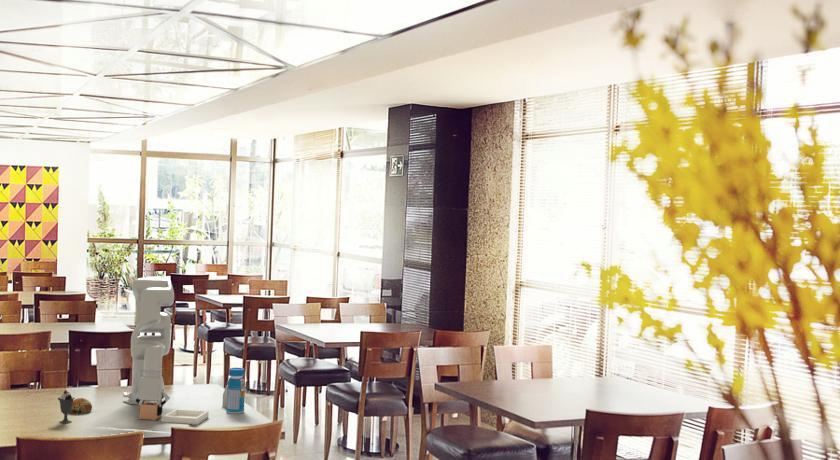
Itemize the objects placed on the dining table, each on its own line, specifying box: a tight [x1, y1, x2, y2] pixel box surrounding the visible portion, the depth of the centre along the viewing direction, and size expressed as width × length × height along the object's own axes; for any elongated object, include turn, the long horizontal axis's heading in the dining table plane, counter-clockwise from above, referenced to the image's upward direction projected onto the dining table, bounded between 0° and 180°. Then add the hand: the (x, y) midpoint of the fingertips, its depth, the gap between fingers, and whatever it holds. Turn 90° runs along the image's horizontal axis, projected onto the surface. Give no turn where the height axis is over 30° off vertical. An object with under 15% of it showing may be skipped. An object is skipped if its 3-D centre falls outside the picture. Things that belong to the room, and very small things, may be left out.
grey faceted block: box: [221, 385, 228, 409], centre depth 385 cm, size 4×7×10 cm, turn 62°
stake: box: [134, 402, 163, 422], centre depth 354 cm, size 10×10×7 cm
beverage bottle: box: [225, 367, 246, 415], centre depth 376 cm, size 8×8×20 cm
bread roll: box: [68, 397, 93, 415], centre depth 363 cm, size 10×10×8 cm
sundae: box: [57, 385, 76, 425], centre depth 343 cm, size 7×7×15 cm
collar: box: [138, 401, 163, 420], centre depth 355 cm, size 7×7×6 cm
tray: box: [161, 408, 209, 427], centre depth 355 cm, size 15×15×3 cm
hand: (150, 414), depth 355 cm, fingers closed on collar, 7 cm apart
